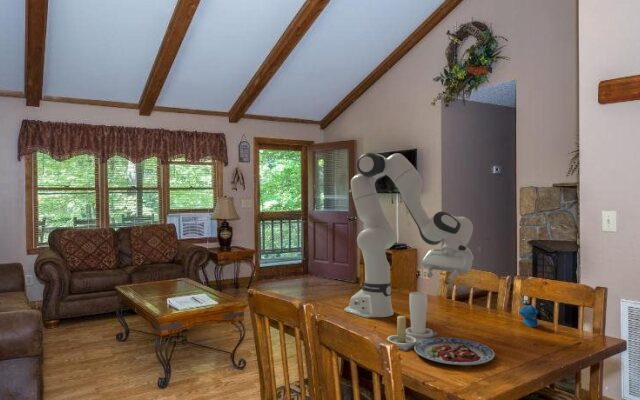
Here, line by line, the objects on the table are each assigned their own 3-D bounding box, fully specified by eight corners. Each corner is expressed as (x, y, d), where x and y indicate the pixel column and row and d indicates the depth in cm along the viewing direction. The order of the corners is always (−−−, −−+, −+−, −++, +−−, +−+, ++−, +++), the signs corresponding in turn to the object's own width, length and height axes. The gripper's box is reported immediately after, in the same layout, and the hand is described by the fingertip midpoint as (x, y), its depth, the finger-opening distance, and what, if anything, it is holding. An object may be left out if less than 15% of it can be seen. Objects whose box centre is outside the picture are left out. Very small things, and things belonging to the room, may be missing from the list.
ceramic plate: (489, 346, 166) (489, 338, 166) (500, 374, 141) (500, 364, 141) (415, 341, 172) (415, 333, 172) (413, 367, 147) (413, 357, 147)
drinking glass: (427, 336, 174) (427, 296, 174) (409, 335, 175) (409, 295, 175) (426, 331, 180) (427, 292, 180) (409, 330, 182) (409, 291, 181)
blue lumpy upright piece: (529, 304, 197) (546, 304, 185) (531, 325, 195) (549, 327, 184) (512, 305, 196) (529, 305, 184) (515, 326, 194) (532, 328, 183)
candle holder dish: (381, 345, 167) (381, 317, 166) (414, 329, 185) (414, 305, 185) (406, 351, 160) (406, 322, 160) (437, 334, 179) (437, 309, 178)
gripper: (427, 244, 197) (413, 269, 190) (472, 248, 183) (459, 276, 176) (432, 253, 200) (419, 279, 194) (477, 258, 186) (465, 286, 179)
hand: (439, 278), depth 185 cm, fingers open, 8 cm apart
